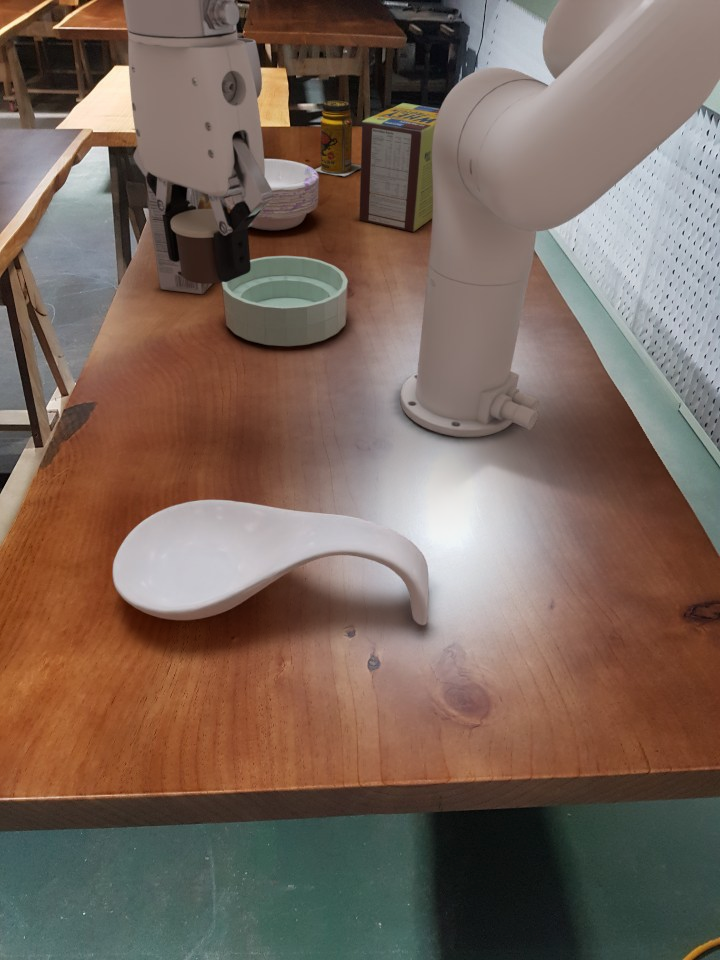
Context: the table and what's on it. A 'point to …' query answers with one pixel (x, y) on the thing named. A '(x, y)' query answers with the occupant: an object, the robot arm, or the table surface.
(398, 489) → the table surface
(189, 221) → the coffee pod
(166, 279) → the coffee box
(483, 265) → the robot arm
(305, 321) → the bowl
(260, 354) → the table surface
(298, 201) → the paper bowls
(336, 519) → the spoon rest
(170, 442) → the table surface
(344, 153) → the condiment
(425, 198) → the protein box
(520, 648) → the table surface
